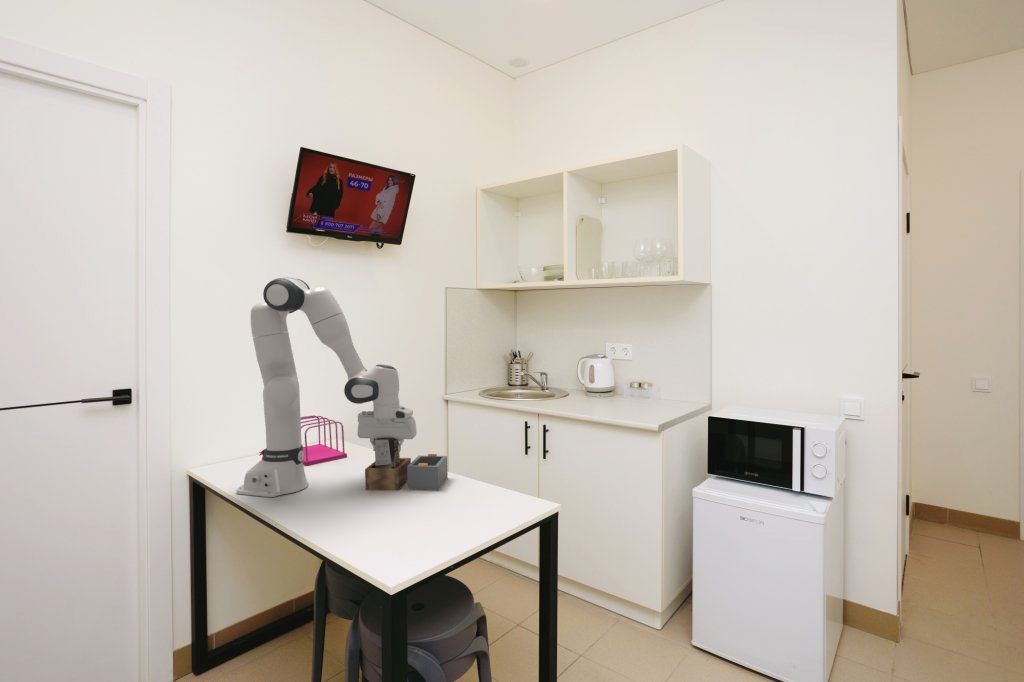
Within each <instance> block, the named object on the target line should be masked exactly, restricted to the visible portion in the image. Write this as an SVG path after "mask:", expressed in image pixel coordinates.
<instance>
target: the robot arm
mask: <svg viewBox="0 0 1024 682" xmlns="http://www.w3.org/2000/svg"><path fill="white" fill-rule="evenodd" d="M262 297H263V300H264V301H260V302H258V303H255V304H254V305H253V306H252V307H251V309H250V328H251V335H252V341H253V345H254V350H255V356H256V361H257V364H258V367H259V371H260V374H261V379H262V383H263V392H262V400H263V411H264V414H263V415H264V422H265V423H264V425H265V444H266V445H265V446H266V448H265V449H263V450H262V451H259V452H258V456H259V457H260V456H262V458H261V460H259V461H258V462H257V463H256V464H255V465H253V466H252V467H251V468H250V469H249V470H247V472H246V473H245V476H244V479H243V484H242V485H240V486H238V488H237V489H236V494H237V495H247V496H256V497H264V498H274V497H275V498H276V497H279V496H281V495H287V494H292V493H295V492H299V491H302V490H304V489H306V488H308V486H309V482H308V479H307V476H306V472H305V468H304V466H305V465H303V458H304V455H303V447H304V446H303V444H302V429H301V426H302V423H301V422H302V420H301V418H300V417H301V396H300V395H301V394H300V383H299V378H298V374H297V370H296V369H297V368H296V363H295V359H294V354H293V349H292V344H291V339H290V334H289V330H288V329H289V328H288V324H287V316H288V314H293V313H295V312H297V311H299V310H300V311H301V312H303V313H304V314H305V316H306V317H307V319H308V322H309V323H310V325H311V328H312V331H313V332H314V333H315V335H316V337H317V338H318V340H319V341H320V342H321V343H322V344H323V345H325V346H326V347H328V348H329V349H331V350H332V351H333V352H334V353H335V354H336V356H337V357H338V359H339V361H340V363H341V365H342V366H343V369H344V371H345V373H346V375H347V379H348V380H347V382H346V384H345V385H344V390H343V392H344V393H343V394H344V396H345V398H346V399H347V401H349V402H350V403H352V404H357V405H362V404H364V403H369V402H372V403H373V405H372V406H373V410H371V411H369V410H368V411H365V410H363V411H361V412H359V413H358V415H357V423H358V424H357V436H358V438H359V439H369V442H370V444H371V445H372V447H373V448H372V449H373V450H372V451H373V452H375V439H377V438H394V439H398V442H399V445H398V446H396V452H399V453H400V452H401V451H402V446H403V443H404V442H405V440H413V439H414V438H416V437H417V424H416V420H415V418H414V416H413V415H414V410H413V409H412V408H408V407H406V406H403V405H401V403H400V399H399V393H400V379H399V372H398V370H397V368H395V367H394V366H392V365H388V364H375V365H374V366H373V367H371V368H370V369H369V370H367V369H366V368H365V366H364V364H363V362H362V359H361V358H360V356H359V353H357V350H356V348H355V346H354V343H353V339H352V335H351V332H350V328H349V325H348V322H347V318H346V316H345V314H344V311H343V309H342V308H341V306H340V304H339V303H338V301H337V299H336V297H335V296H334V295H333V293H332V292H331V291H330V290H329V288H326V287H322V286H317V287H316V286H315V287H314V288H310V286H309V285H308V284H307V283H306V282H305V281H304V280H302V279H300V278H295V277H288V276H287V277H279V278H274V279H273V280H270V281H268V283H267V284H266V285H265V286H264V289H263V293H262Z"/></svg>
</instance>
